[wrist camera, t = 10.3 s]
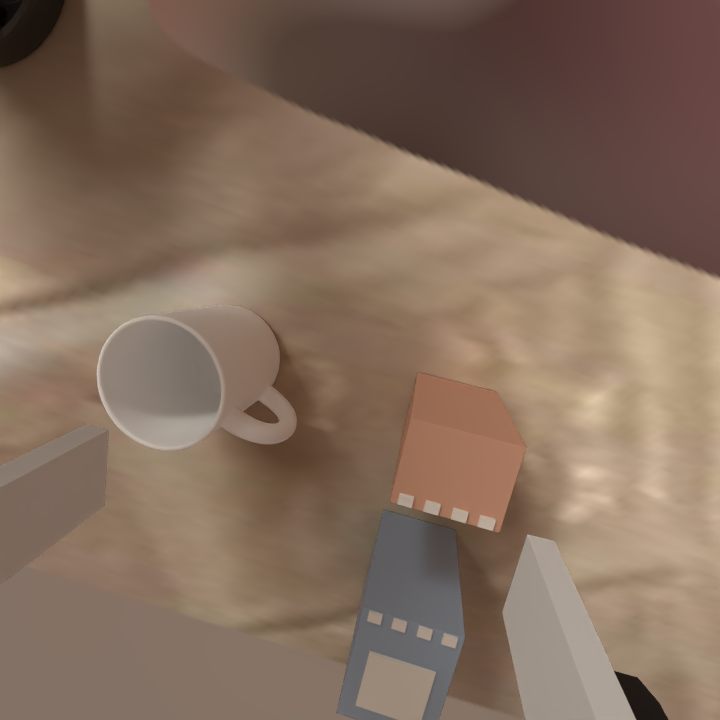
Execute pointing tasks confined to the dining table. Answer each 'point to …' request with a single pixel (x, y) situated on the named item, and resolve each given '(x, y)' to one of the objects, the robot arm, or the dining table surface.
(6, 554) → the robot arm
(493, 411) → the stub
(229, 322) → the mug
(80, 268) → the dining table surface
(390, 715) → the toy oven block
